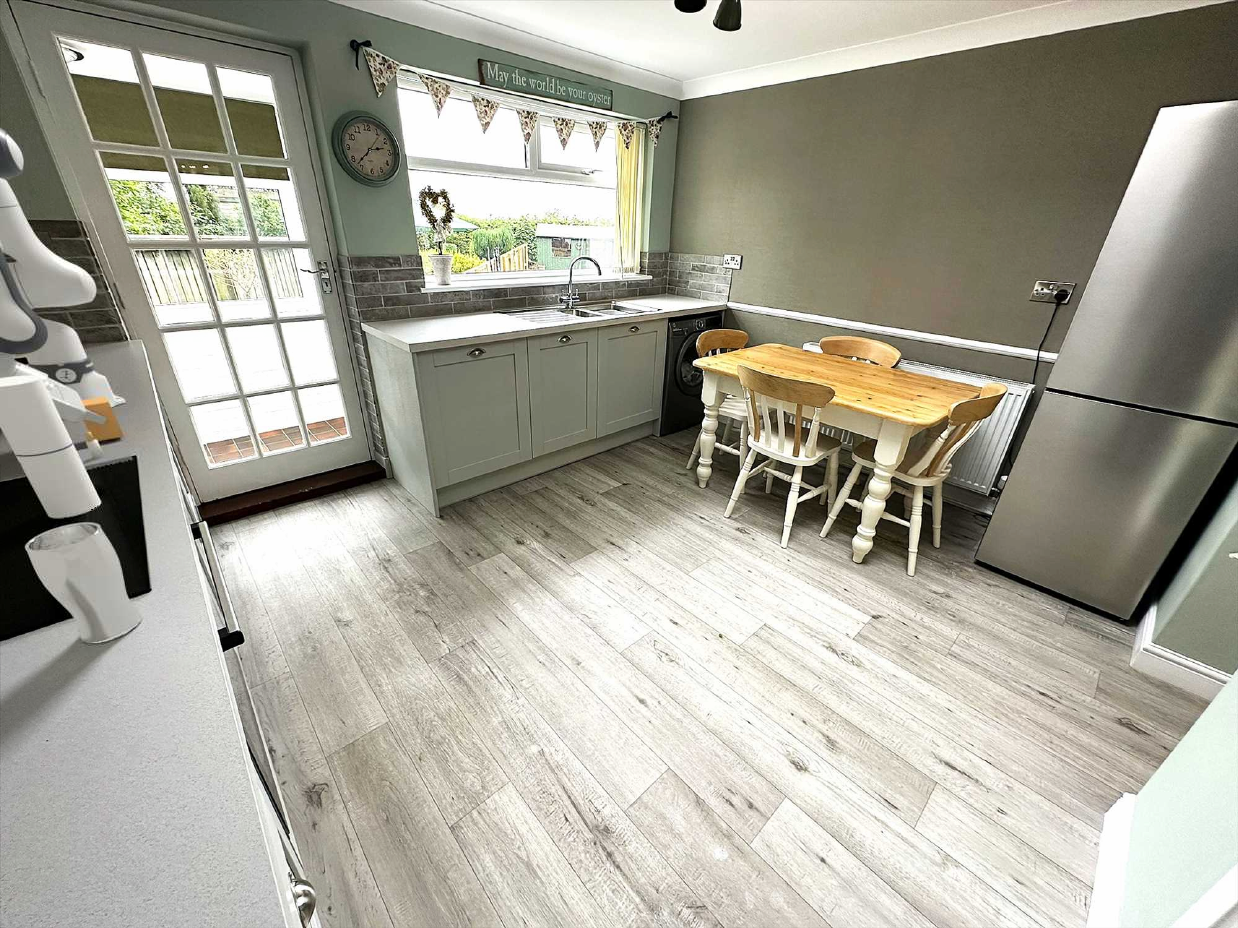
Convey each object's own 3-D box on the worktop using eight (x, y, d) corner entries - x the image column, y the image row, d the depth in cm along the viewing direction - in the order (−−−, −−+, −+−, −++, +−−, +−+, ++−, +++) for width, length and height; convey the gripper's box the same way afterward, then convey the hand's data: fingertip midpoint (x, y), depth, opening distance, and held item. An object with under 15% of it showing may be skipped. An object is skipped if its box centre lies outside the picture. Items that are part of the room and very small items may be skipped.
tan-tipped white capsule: (92, 457, 112) (81, 432, 109) (103, 454, 113) (92, 430, 111) (93, 459, 111) (82, 434, 108) (104, 457, 112) (93, 432, 110)
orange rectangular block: (90, 435, 123) (74, 401, 119) (120, 430, 127) (105, 396, 123) (93, 442, 120) (77, 407, 116) (123, 436, 123) (108, 402, 120)
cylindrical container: (67, 520, 91) (-2, 388, 80) (37, 515, 92) (-35, 385, 81) (111, 501, 97) (52, 377, 86) (82, 497, 98) (20, 374, 87)
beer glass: (76, 626, 68) (23, 534, 61) (144, 603, 72) (101, 515, 66) (77, 655, 63) (20, 560, 57) (149, 628, 68) (103, 537, 61)
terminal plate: (65, 457, 114) (63, 453, 113) (124, 445, 121) (122, 441, 120) (71, 473, 107) (69, 469, 106) (133, 459, 114) (131, 455, 113)
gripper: (37, 385, 105) (118, 417, 116) (31, 366, 117) (105, 397, 128) (16, 410, 104) (100, 440, 115) (12, 388, 116) (88, 417, 127)
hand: (102, 417), depth 122 cm, fingers closed on orange rectangular block, 5 cm apart
